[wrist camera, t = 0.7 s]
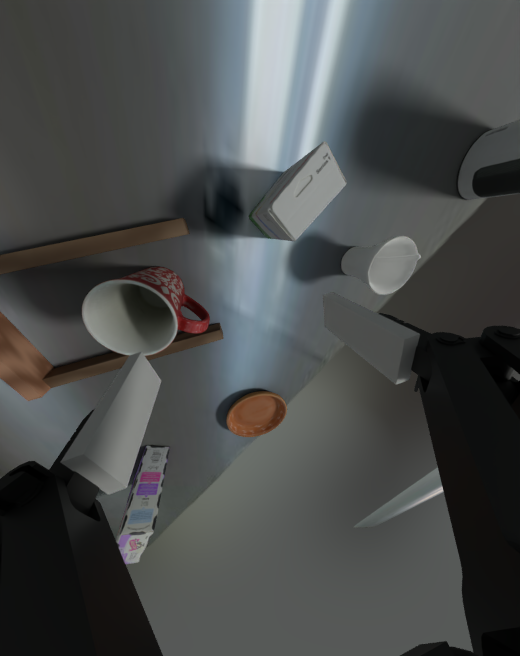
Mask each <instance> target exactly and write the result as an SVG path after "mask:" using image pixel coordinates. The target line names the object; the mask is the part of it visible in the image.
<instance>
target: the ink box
mask: <svg viewBox="0 0 520 656" xmlns="http://www.w3.org/2000/svg"><path fill="white" fill-rule="evenodd" d="M345 185H346V180H345V178H344V176H343V174H342V172H341V170H340V168H339V166H338V164H337V162H336V160H335V158H334V156H333V154H332V152H331V150H330V148H329V146H328V144H327V142H325V141H324V142H322V143H321V144H320V145H319V146H317V147H316V148H315V149H314V150H312V151H311V152H310V153H308V154H307V155H306V156H305V157H303V158H302V159H301V160H299V161H298V162H297V163H295V164H294V165H293V166H291V167H290V168H289V169H287V170H286V171H285V172H284V173H283V174H282V175H281V176H280V177H279V179H278V180H277V181H276V182H275V184H274V185H273V186H272V187H271V189H270V190H269V191H268V192H267V194H266V195H265V196H264V197H263V199H262V200H261V201H260V202H259V204H258V205H257V206H256V207H255V209H254V210H253V211H252V212H251V214H250V215H249V219H250V220H251V221H252V222H253V223H254V224H255V225H256V226H257V227H258V229H259V230H260V231H261V232H262V233H263V234H264V235H265V236H266V237H267V238H270V239H279V240H288V241H296V240H297V238H298V237H299V236H300V235H301V234H302V233H303V232H304V231H305V230H306V229H307V227H308V226H309V225H310V224H311V223H312V222H313V221H314V220H315V219H316V217H317V216H318V215H319V214H320V213H321V212H322V211H323V210H324V209H325V207H326V206H327V205H328V204H329V203H330V202H331V201H332V200H333V199H334V197H335V196H336V195H337V194H338V193H339V192H340V191H341V190H342V188H343V187H344V186H345Z"/></svg>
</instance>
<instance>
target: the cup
mask: <svg viewBox="0 0 520 656" xmlns="http://www.w3.org/2000/svg"><path fill="white" fill-rule="evenodd" d="M420 258H421V255H419V254H418V251H417V247H416V245H415V243H414V241H412V240H411V239H410V238H409V237H405V236H396V237H392V238H390V239H388V240H386V241H384V242H383V243H381V244H378V245H373V246H371V247H358V246H357V247H352V248H351V249H349V250H348V251H347V252H346V253H345V254H344V256H343V258H342V261H341V268H342V271H343V272H344V273H345V274H346V275H349V276H353V277H356V278H358V279H360V280H361V281H362V282H364V283H365V284H367V286H368V287H369V289H370V290H372V291H373V292H374V293H376V294H381V295H386V294H390V293H392V292H394V291H396V290H398V289H399V288H400V287H401V286H403V285H404V284H405V282H406V281H407V280H408V279H409V277H410V276H411V274H412V273H413V271H414V268H415V265H416V263H417V260H418V259H420Z"/></svg>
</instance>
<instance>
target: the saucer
mask: <svg viewBox="0 0 520 656" xmlns="http://www.w3.org/2000/svg"><path fill="white" fill-rule="evenodd" d="M286 412H287V406H286V403H285V402H284V400H283V399H282V398H281V397H280V396H279V395H277V394H275V393H272V392H267V391H258V392H252V393H249V394H247V395H245V396H243V397H241V398H240V399H239V400H237V401H236V402H235V403H234V404H233V405H232V406H231V408H230V409H229V411H228V414H227V420H226V422H227V426H228V428H229V430H230V431H231V432H233V433H234V434H236V435H238V436H243V437H254V436H259V435H262V434H265V433H268V432H269V431H271V430H273V429H274V428H276V427H277V426H278V425H279V424H280V423H281V422H282V421H283V419H284V418H285V416H286Z"/></svg>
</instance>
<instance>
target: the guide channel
mask: <svg viewBox="0 0 520 656" xmlns="http://www.w3.org/2000/svg"><path fill="white" fill-rule="evenodd" d="M187 234H190V233H189V230H188V227H187V224H186V221H185V219H184V218H180V219H175V220H171V221H166V222H161V223H156V224H151V225H146V226H141V227H136V228H131V229H126V230H121V231H116V232H111V233H107V234H102V235H97V236H92V237H87V238H82V239H77V240H72V241H67V242H62V243H57V244H52V245H48V246H43V247H38V248H33V249H28V250H23V251H18V252H13V253H8V254H3V255H0V274H4V273H9V272H14V271H18V270H23V269H28V268H32V267H37V266H42V265H46V264H51V263H56V262H60V261H65V260H70V259H74V258H79V257H84V256H88V255H93V254H98V253H103V252H107V251H112V250H117V249H121V248H126V247H131V246H135V245H140V244H145V243H149V242H154V241H159V240H163V239H168V238H173V237H177V236H182V235H187ZM221 339H223V332H222V329H221V326H220V323H217V324H214V325H210V326H208V328H207V330H206V331H204V332H203V333H188V332H184V333H181V334H177V335H176V336H175V338H174V340H173V341H172V343H171V344H170V345H169V346H168V347H167V348H165V349H164V350H162V351H161V352H158V353H156V354H153V355H148V356H145V357H146V359H147V360H151V359H154V358H158V357H161V356H165V355H168V354H172V353H175V352H179V351H182V350H186V349H189V348H193V347H196V346H200V345H203V344H207V343H210V342H214V341H217V340H221ZM128 357H129V355H123V354H120V353H117V352H112V353H108V354H104V355H101V356H97V357H94V358H90V359H86V360H83V361H79V362H75V363H72V364H68V365H64V366H61V367H57V368H54V367H53V366H52V365H51V364H50V363H49V362H48V360H47V359H46V358H45V357H44V356H43V355H42V354H41V353H40V352H39V351H38V350H37V349H36V348H35V347H34V346H33V345H32V344H31V343H30V342H29V341H28V340H27V339H26V338H25V337H24V336H23V335H22V334H21V332H20V331H19V330H18V329H17V328H16V327H15V326H14V325H13V324H12V323H11V322H10V321H9V320H8V319H7V318H6V317H5V316H4V315H3V314H2V313H1V312H0V378H1V379H2V380H4V381H5V382H6V383H7V384H8V385H10V386H11V387H12V388H13V389H14V390H16V391H17V392H18V393H19V394H20V395H22V396H23V397H24V398H25V399H26V400H28V401H30V400H33V399H37V398H40V397H42V396H43V395H44V394H45V393H46V392H47V391H48V390H49V389H50V388H53V387H56V386H60V385H63V384H67V383H70V382H74V381H77V380H81V379H84V378H88V377H91V376H95V375H98V374H102V373H105V372H109V371H112V370H116V369H119V368H122V366H123V365H124V363H125V362H126V360H127V359H128Z"/></svg>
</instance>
